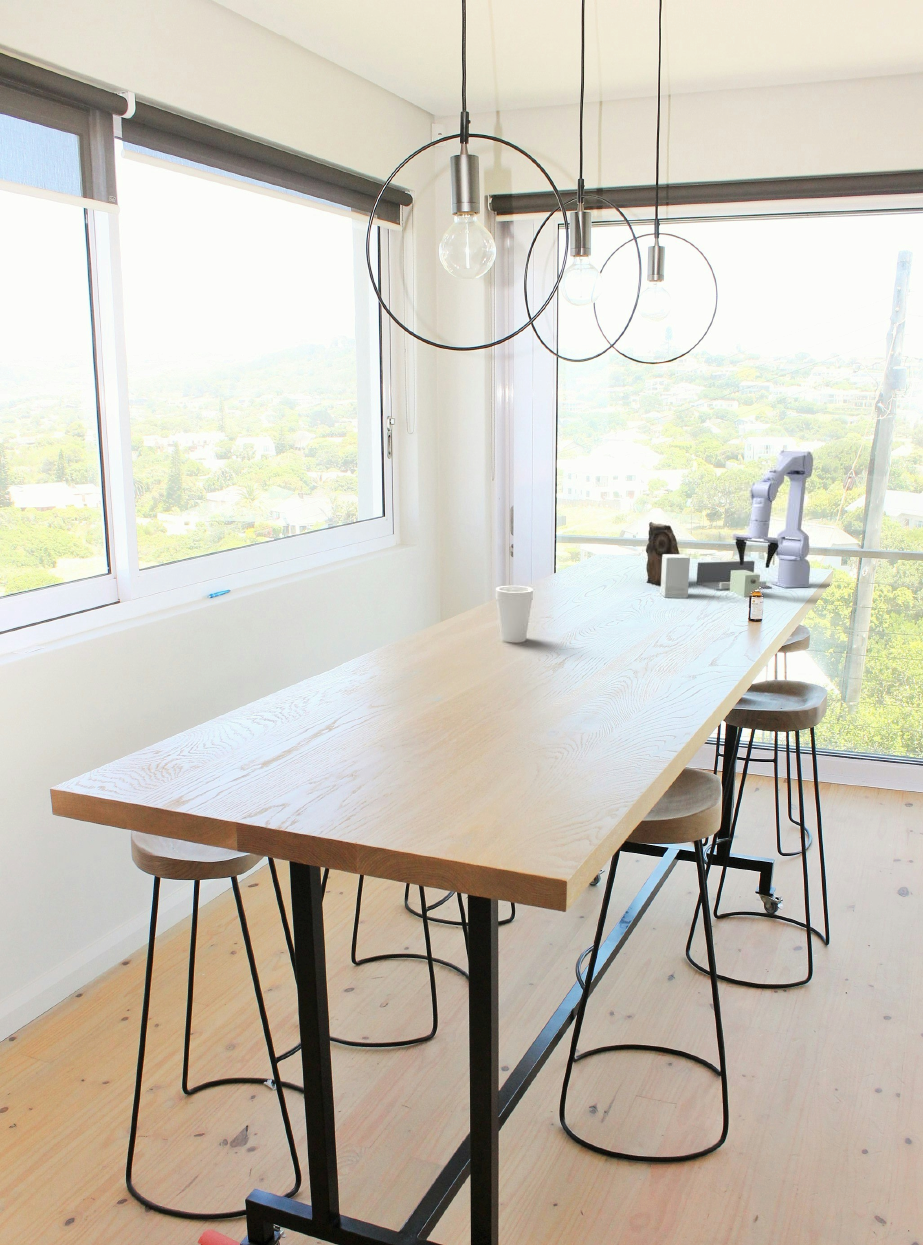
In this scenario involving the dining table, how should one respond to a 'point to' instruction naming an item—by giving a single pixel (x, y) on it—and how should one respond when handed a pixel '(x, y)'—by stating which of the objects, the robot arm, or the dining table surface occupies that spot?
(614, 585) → the dining table surface
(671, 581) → the supplement box
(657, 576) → the owl
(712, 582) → the grey piece
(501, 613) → the foam cup
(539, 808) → the dining table surface
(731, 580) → the cabinet block
